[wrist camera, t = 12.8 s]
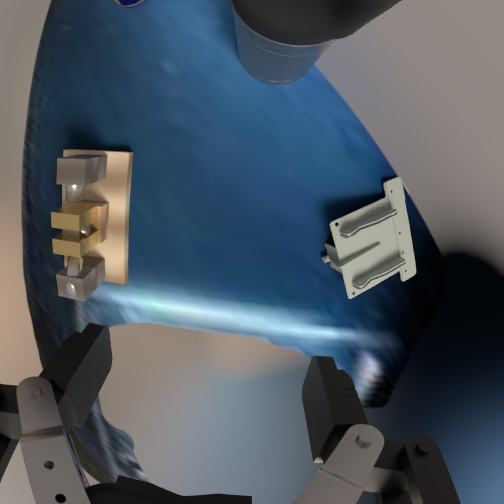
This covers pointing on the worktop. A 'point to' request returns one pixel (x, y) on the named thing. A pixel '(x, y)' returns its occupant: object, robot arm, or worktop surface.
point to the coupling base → (116, 211)
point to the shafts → (73, 262)
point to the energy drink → (129, 3)
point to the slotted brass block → (75, 229)
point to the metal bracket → (373, 242)
